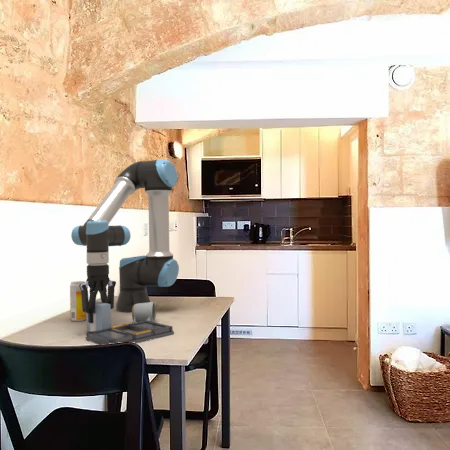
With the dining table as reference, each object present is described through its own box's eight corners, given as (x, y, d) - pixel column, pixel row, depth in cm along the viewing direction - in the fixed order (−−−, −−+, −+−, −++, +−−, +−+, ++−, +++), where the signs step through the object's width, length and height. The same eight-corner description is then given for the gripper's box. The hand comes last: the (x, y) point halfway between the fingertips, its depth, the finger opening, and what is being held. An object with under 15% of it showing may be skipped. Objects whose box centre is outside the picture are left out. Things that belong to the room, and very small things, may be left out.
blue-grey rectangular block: (86, 330, 164) (86, 302, 164) (95, 328, 167) (95, 300, 167) (102, 334, 157) (101, 305, 157) (110, 332, 160) (110, 304, 160)
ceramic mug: (135, 320, 180) (135, 300, 180) (156, 320, 180) (156, 300, 180) (129, 327, 170) (129, 306, 169) (151, 326, 169) (151, 306, 169)
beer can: (89, 319, 183) (89, 281, 183) (80, 322, 178) (79, 283, 178) (77, 318, 185) (76, 280, 185) (67, 321, 180) (66, 282, 180)
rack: (85, 339, 151) (85, 331, 151) (145, 327, 168) (145, 319, 168) (113, 348, 140) (112, 339, 140) (173, 334, 157) (173, 325, 157)
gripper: (81, 266, 153) (82, 337, 153) (124, 263, 165) (124, 328, 165) (70, 265, 158) (71, 333, 159) (112, 262, 170) (113, 325, 171)
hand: (98, 330), depth 162 cm, fingers closed on blue-grey rectangular block, 3 cm apart
